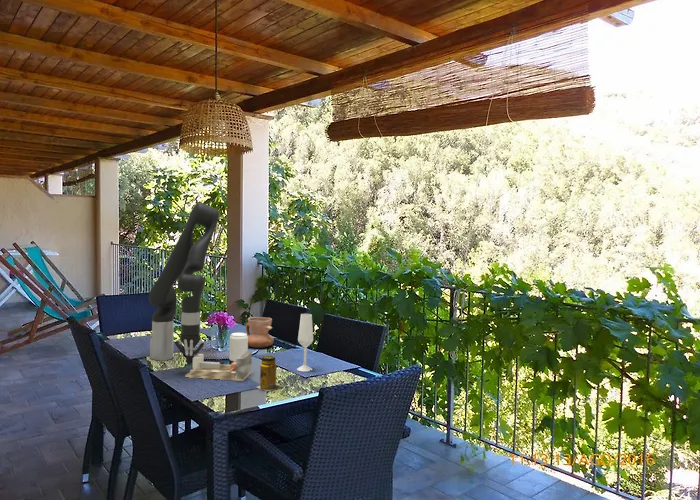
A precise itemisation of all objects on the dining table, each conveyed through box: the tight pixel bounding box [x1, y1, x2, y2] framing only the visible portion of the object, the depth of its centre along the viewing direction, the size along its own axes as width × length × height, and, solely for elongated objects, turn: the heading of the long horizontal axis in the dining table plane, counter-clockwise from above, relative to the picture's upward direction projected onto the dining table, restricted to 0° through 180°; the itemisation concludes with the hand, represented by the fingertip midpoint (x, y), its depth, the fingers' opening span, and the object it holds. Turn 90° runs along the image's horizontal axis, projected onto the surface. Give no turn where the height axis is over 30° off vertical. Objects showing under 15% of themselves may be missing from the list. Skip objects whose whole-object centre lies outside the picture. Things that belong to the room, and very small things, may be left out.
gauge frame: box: [184, 351, 253, 382], centre depth 225 cm, size 24×12×9 cm, turn 85°
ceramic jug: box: [245, 316, 275, 349], centre depth 276 cm, size 18×14×14 cm
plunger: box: [192, 353, 221, 370], centre depth 225 cm, size 10×7×6 cm
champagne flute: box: [296, 313, 314, 372], centre depth 237 cm, size 7×7×24 cm
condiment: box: [256, 355, 284, 392], centre depth 212 cm, size 7×8×12 cm
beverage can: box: [228, 332, 249, 363], centre depth 249 cm, size 8×8×12 cm
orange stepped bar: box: [230, 361, 236, 372], centre depth 223 cm, size 2×8×3 cm, turn 175°
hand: (189, 363), depth 226 cm, fingers closed
